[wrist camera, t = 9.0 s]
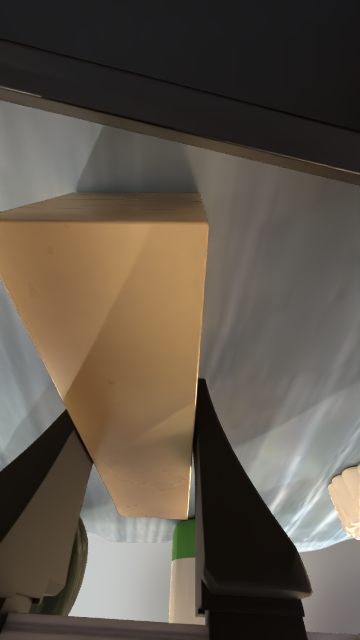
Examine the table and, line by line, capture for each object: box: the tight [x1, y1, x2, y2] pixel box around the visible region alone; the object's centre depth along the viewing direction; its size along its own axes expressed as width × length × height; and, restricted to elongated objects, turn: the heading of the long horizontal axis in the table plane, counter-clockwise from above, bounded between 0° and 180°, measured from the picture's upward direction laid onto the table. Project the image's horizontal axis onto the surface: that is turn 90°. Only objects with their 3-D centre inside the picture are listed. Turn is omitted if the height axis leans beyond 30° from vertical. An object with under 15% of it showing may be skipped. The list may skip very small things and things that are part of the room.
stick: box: [0, 192, 209, 519], centre depth 11 cm, size 4×18×4 cm, turn 0°
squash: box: [28, 516, 88, 616], centre depth 23 cm, size 14×15×15 cm
